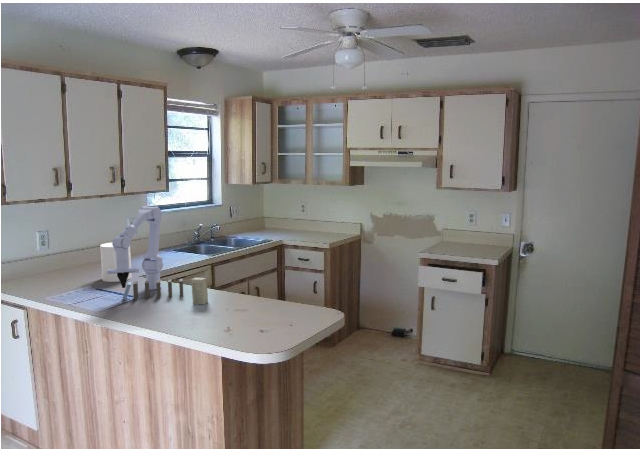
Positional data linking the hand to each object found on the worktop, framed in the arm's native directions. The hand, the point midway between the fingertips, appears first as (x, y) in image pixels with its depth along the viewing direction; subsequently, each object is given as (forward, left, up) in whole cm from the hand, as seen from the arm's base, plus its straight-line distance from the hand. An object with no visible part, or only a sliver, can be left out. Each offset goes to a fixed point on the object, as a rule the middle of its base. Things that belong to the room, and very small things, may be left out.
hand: (123, 287), depth 247 cm
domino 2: (0, +5, -6) cm, 8 cm away
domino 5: (0, +22, -6) cm, 23 cm away
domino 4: (0, +16, -6) cm, 17 cm away
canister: (-45, -10, -6) cm, 46 cm away
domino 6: (0, +27, -6) cm, 28 cm away
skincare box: (+16, +36, -6) cm, 40 cm away
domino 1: (0, 0, -6) cm, 6 cm away
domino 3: (0, +11, -6) cm, 12 cm away
